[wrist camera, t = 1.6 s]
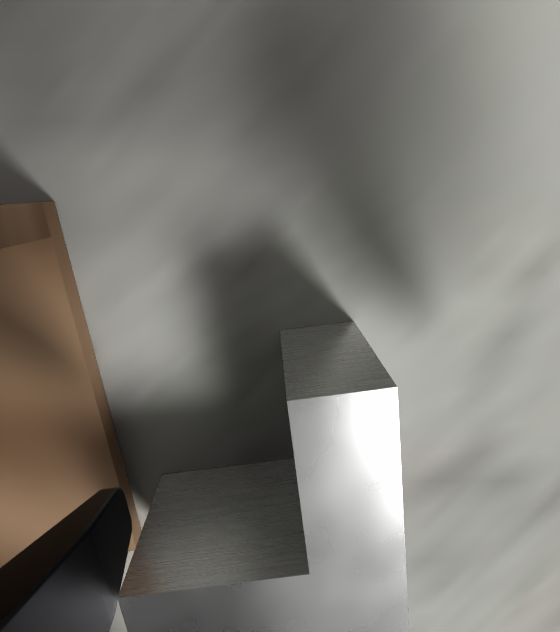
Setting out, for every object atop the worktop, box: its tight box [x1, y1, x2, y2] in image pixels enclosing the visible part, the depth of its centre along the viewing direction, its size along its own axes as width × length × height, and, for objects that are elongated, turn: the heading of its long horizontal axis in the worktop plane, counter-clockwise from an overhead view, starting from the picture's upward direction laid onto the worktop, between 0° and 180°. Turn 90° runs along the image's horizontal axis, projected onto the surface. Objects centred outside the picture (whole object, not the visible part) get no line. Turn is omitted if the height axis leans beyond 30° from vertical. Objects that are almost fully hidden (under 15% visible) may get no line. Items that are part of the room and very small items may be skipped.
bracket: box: [118, 321, 409, 632], centre depth 11 cm, size 6×6×4 cm
